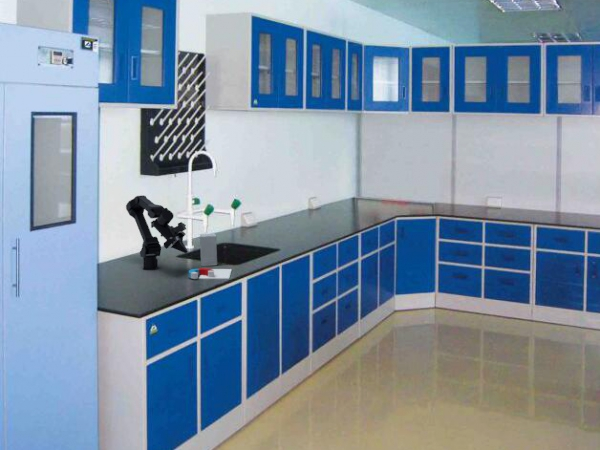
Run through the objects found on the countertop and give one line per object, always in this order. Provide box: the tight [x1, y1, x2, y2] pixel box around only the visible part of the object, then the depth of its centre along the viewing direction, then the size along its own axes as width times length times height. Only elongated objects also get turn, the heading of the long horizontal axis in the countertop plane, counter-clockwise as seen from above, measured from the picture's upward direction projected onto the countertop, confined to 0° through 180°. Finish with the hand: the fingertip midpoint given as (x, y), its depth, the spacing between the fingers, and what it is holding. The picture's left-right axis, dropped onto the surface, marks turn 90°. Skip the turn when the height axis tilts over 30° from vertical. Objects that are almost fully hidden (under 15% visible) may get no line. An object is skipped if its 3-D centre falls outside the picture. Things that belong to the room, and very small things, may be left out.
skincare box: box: [199, 233, 218, 267], centre depth 390 cm, size 8×7×16 cm
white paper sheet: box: [198, 268, 233, 280], centre depth 370 cm, size 14×20×1 cm
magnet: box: [188, 267, 214, 280], centre depth 363 cm, size 12×3×10 cm
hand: (186, 252), depth 369 cm, fingers closed
